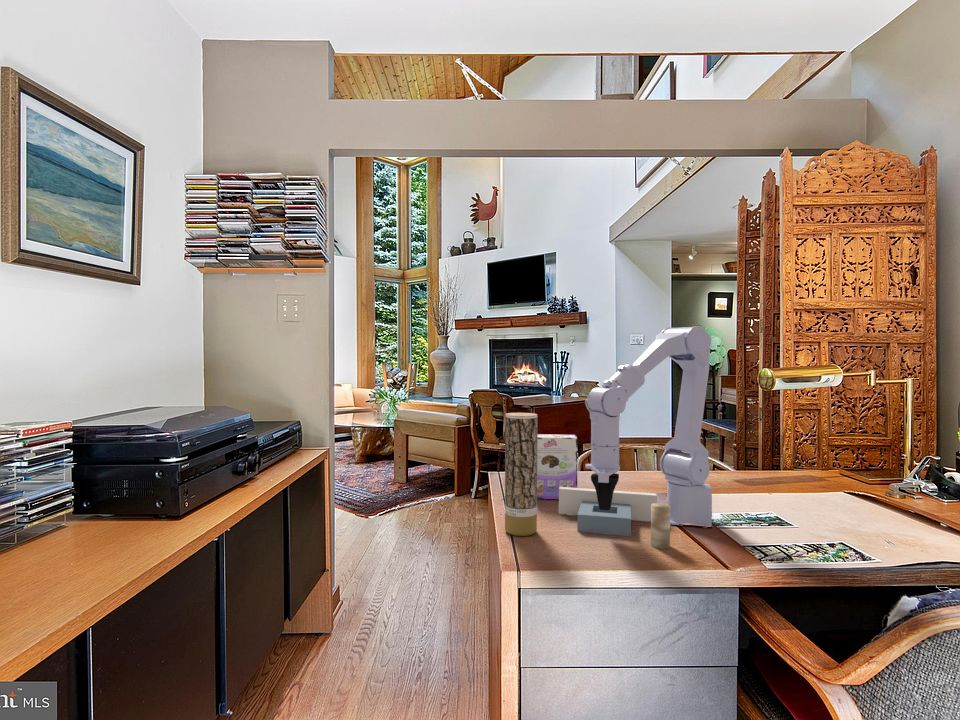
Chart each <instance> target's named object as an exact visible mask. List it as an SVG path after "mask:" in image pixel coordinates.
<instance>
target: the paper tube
mask: <svg viewBox="0 0 960 720" xmlns="http://www.w3.org/2000/svg"><path fill="white" fill-rule="evenodd" d="M538 417H539V416H538V414H537V413H534V412H533V413H532V412H508V413H507V412H506V413H505V428H504V429H505V430H504V431H505V433H504V434H505V435H504V437H505V439H504V440H505V442H504V444H505V445H504V457H505V458H504V466H505V467H504V530H505V532H506V533H508V534H509V535H512V536H516V537H526V536H527V537H528V536H531V535H534V534H535V533H536V532H537V528H538V527H537V526H538V524H537V523H538V519H537V518H538V517H537V516H538V499H537V436H538V434H539V433H538V430H539V429H538Z"/></svg>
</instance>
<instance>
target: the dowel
mask: <svg viewBox="0 0 960 720" xmlns="http://www.w3.org/2000/svg"><path fill="white" fill-rule="evenodd" d="M650 547H652V548H655V549H659V550H668V549H670V548H671V524H670V505H668V504H667V503H661V502H657V503H653V504H651V522H650Z"/></svg>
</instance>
